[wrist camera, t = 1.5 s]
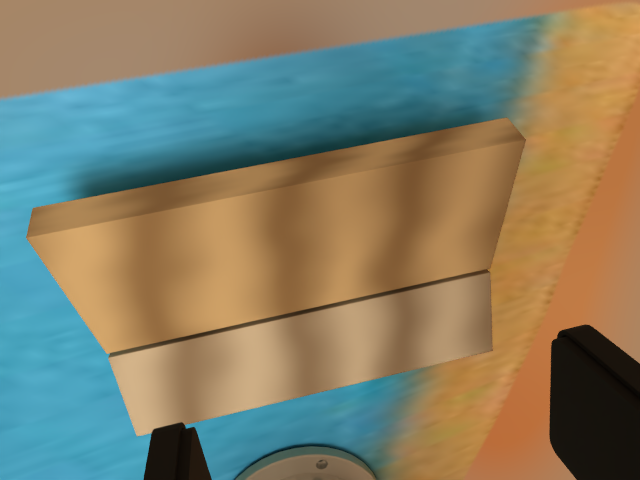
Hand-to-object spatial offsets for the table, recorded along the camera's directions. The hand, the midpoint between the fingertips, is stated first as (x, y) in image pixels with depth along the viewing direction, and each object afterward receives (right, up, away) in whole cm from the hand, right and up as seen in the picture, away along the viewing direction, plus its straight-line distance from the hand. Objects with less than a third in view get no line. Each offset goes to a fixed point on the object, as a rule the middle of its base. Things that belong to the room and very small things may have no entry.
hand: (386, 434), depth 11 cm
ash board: (-2, -3, +24) cm, 25 cm away
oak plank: (-3, +5, +19) cm, 20 cm away
